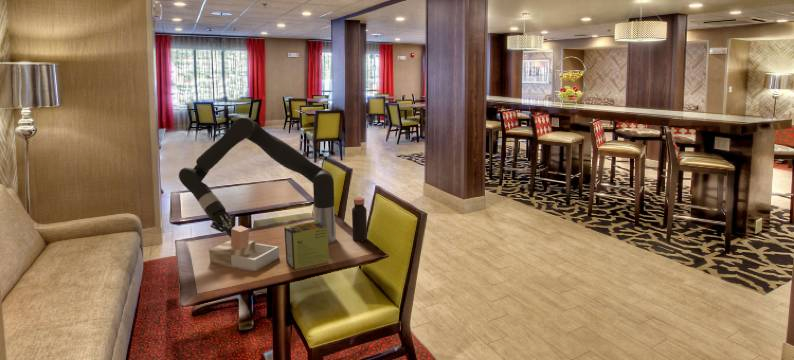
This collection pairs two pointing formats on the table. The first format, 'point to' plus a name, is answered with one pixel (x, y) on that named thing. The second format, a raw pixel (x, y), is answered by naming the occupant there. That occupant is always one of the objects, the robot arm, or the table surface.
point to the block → (239, 237)
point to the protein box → (306, 244)
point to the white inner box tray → (256, 258)
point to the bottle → (359, 220)
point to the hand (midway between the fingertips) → (234, 237)
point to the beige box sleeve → (229, 253)
